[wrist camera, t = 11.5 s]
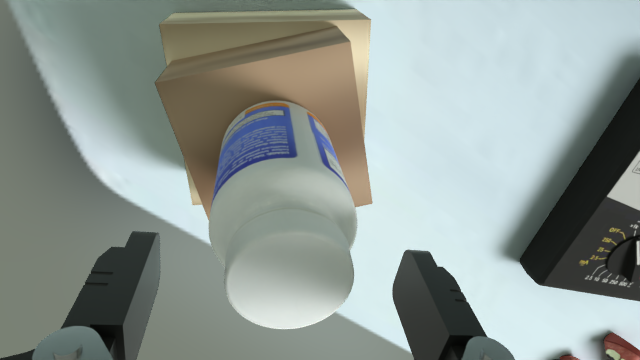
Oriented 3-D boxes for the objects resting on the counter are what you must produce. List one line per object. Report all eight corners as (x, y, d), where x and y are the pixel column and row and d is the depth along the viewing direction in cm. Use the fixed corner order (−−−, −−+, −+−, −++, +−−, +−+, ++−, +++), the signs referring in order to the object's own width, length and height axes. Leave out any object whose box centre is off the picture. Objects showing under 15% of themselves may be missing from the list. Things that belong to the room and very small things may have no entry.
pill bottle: (210, 179, 21) (177, 332, 13) (240, 81, 19) (223, 190, 11) (308, 205, 23) (335, 357, 14) (347, 117, 21) (406, 238, 12)
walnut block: (171, 60, 22) (154, 82, 19) (336, 26, 22) (350, 41, 19) (221, 199, 27) (215, 237, 23) (358, 169, 27) (372, 203, 23)
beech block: (173, 12, 24) (159, 24, 21) (356, 9, 26) (371, 19, 22) (200, 174, 30) (192, 205, 27) (350, 166, 31) (361, 194, 28)
